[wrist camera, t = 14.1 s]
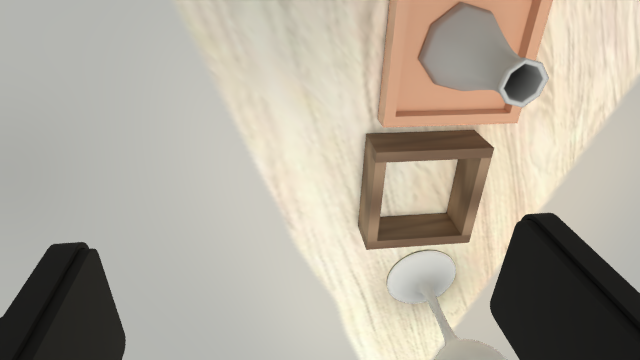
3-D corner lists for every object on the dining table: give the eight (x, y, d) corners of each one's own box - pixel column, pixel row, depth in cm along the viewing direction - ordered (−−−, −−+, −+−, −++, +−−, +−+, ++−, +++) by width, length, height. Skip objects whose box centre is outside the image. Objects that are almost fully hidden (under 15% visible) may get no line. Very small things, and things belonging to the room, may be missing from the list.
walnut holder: (366, 133, 39) (376, 152, 36) (474, 130, 41) (494, 147, 37) (358, 225, 45) (366, 249, 42) (453, 219, 46) (468, 242, 43)
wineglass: (383, 304, 52) (449, 498, 34) (390, 252, 48) (471, 442, 30) (448, 299, 53) (544, 483, 35) (461, 247, 49) (580, 427, 31)
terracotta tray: (393, -37, 32) (401, -35, 30) (546, -34, 34) (561, -32, 32) (377, 119, 39) (383, 127, 37) (506, 115, 40) (517, 123, 39)
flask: (517, 34, 36) (599, 66, 27) (460, 103, 38) (519, 151, 30) (459, -16, 33) (530, 1, 24) (402, 61, 35) (448, 101, 27)
